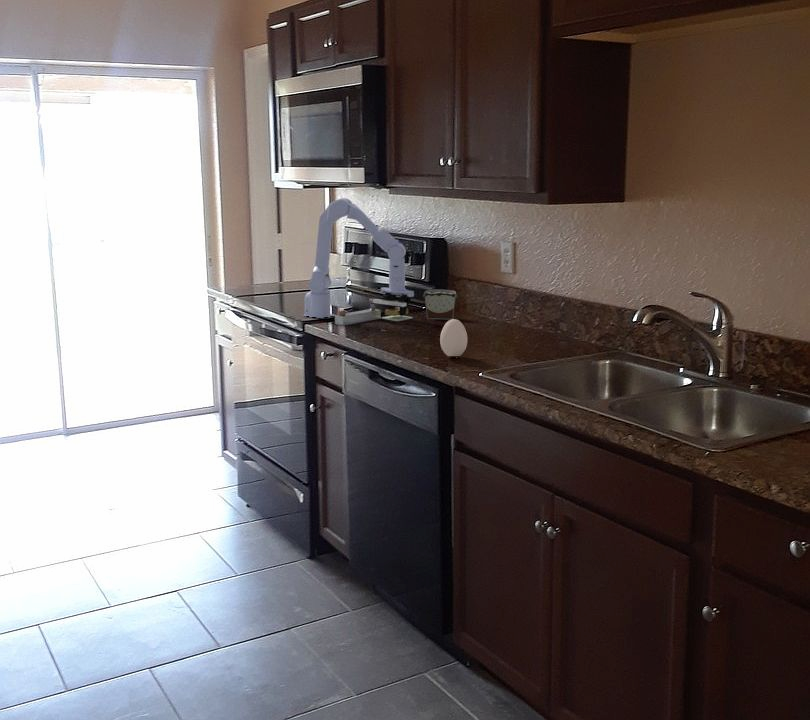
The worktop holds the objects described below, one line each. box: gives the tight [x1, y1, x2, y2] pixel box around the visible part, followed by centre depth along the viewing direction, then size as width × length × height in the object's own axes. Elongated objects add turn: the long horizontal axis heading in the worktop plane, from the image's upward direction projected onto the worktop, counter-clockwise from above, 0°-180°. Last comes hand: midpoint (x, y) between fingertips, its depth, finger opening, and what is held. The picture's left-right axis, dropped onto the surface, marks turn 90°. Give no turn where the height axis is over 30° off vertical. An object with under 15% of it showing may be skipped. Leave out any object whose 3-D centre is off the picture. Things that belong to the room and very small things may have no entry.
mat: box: [381, 315, 413, 322], centre depth 329 cm, size 8×8×1 cm
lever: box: [368, 298, 407, 307], centre depth 323 cm, size 2×16×1 cm, turn 51°
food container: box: [422, 289, 458, 320], centre depth 330 cm, size 12×6×10 cm, turn 84°
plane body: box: [334, 302, 382, 327], centre depth 323 cm, size 4×19×6 cm, turn 138°
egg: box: [439, 318, 468, 357], centre depth 264 cm, size 8×8×11 cm
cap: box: [384, 306, 409, 316], centre depth 328 cm, size 5×7×2 cm
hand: (397, 314), depth 328 cm, fingers closed on cap, 5 cm apart
